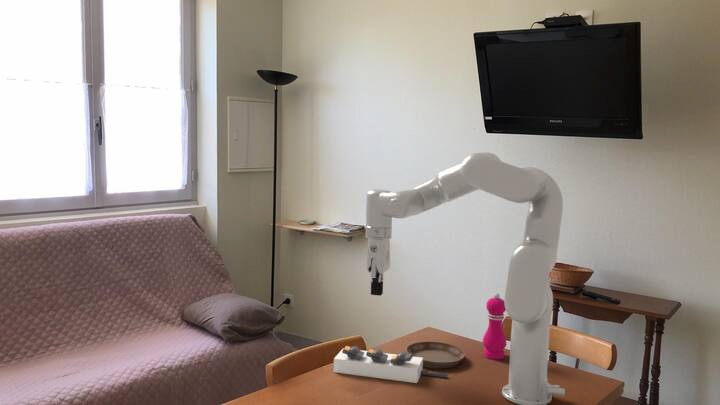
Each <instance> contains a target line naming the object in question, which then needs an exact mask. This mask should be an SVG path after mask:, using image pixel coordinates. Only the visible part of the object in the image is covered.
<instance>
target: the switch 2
mask: <svg viewBox="0 0 720 405" xmlns="http://www.w3.org/2000/svg"><path fill="white" fill-rule="evenodd" d="M412 357H413V355H412V353H409V354H407V352H405V351H400V352H399V353H398V354H396V356H393V357H392V358H391V360H390V361H391V364H393V363H397V364H398V365H403V364H404V363H405V362H407V361H411V359H412Z"/></svg>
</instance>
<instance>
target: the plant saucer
mask: <svg viewBox="0 0 720 405" xmlns="http://www.w3.org/2000/svg"><path fill="white" fill-rule="evenodd" d="M405 351H406V354H409V353H412V355H413V357H421V358H423V367H425V368H430V369H449V368H453V367H456V366H457V365H458V364H459V363H460V362H461V361H462V360H463V359H464V357H465V356H466V353H465V351H464V349H461V348H460V347H458V346H456V345H454V344H450V343H446V342H439V341H418V342H413V343H410V344H409V345H408V346H407V347H406V348H405Z"/></svg>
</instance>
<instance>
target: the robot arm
mask: <svg viewBox="0 0 720 405" xmlns="http://www.w3.org/2000/svg"><path fill="white" fill-rule="evenodd" d="M479 190H480V191H483V192H485V193H489V194H491V195H493V196H496V197H499V198H501V199H504V200H507V201H509V202H512V203H516V204H526V203H528V210H527V215H526V219H525V228H524V233H523V234H524V235H523V237H522V242H521V243H520V244H519V245H517V246H516V247H515V248H514V250H513V252H512V254H511V257H510V259H509V266H508V270H507V271H508V272H507V278H506V286H505V292H504V303H505V309H506V310H505V312H506V313H507V315H508V317H510V319H511V320H512V321H511V332H510V347H509V348H510V349H509V350H510V351H509V368H508V384H506V385H504V386H503V387H502V390H501V394H502V396H503V397H504V399H506V400H508V401H509V402H511V403H514V404H515V405H516V404H517V405H548V404H549V403H551V402H552V397H553V395H554V396H558V397H559V396H560V397H565V394H566V393H565V391H566V389H565V388H562V387H560V385H558V384H551V383H549V380H548V379H549V378H548V363H549V362H548V361H549V360H548V358H549V343H550V332H551V321H552V320H551V319H552V312H553V307H554V294H553V290H552V288H551V286H550V284H549V283H548V280H549V275H550V274H549V273H550V272H551V271H552V270H553V268H554V267H555V265H556V263H557V258H558V248H559V240H560V236H561V235H560V234H561V226H562V219H563V218H562V217H563V207H564V200H563V195H562V191H561V188H560V187H559V185H558V182H556V180H555V179H554V178H553V177H552V176H551V175H549V174H548V173H547V172H545V171H544V170H541V169H540V168H537V167H533V166H530V167H529V166H527V167H518V166H515V165H512V164H509V163H507V162H503V161H502V160H501V159H500V158H499V156H497V155H496V154H495V153H493V152H487V151H486V152H485V151H484V152H474V153H472V154H470V155H468V156H467V157H466V158H465V159H464V160H463V161H461V162H459V163H456V164H455V165H452V166H449V167H447V168H445V169H443V170H441V171H439V172H438V173H437V176H435V177H434V178H433V179H432V180H430V181H428V182H425V183H423V184H420V185H419V186H417V187H413V188H410V189H406V190H401V191H394V192H392V191H390V190H388V189H370V190H369V191H367V193H366V206H365V208H366V210H365V238H366V239H368V240H367V251H366V252H367V253H366V271H367V272H368V274H369V273H370V295H371V296H382V295H383V294H384V273H386V271H388V270H389V269H390V267H391V242H390V239H392V236H393V235H392V231H393V230H392V227H393V226H392V225H393V218H394V219H400V220H401V219H405V218H408V217H412V216H417V215H419V214H420V215H421V214H422V213H424V212H426V211H427V212H428V211H430V210H431V209H434V208H436V207H440V205H443V204H446V203H449V202H452V201H455V200H457V199H459V198H462V197H464V196H466V195H468V194H471V193H473V192H476V191H479Z"/></svg>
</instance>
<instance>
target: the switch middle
mask: <svg viewBox="0 0 720 405" xmlns="http://www.w3.org/2000/svg"><path fill="white" fill-rule="evenodd" d="M367 351H368V352H367V354H366V356H368V357H371V359H372V361H374V362H378V361H381V362H383V363H385V361H386V360H387V358H388V355H386V354H384V353H385V352H384V351H383V350H382V349H380V348H376V349H373V348H370V347H369V349H368V350H367Z"/></svg>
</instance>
